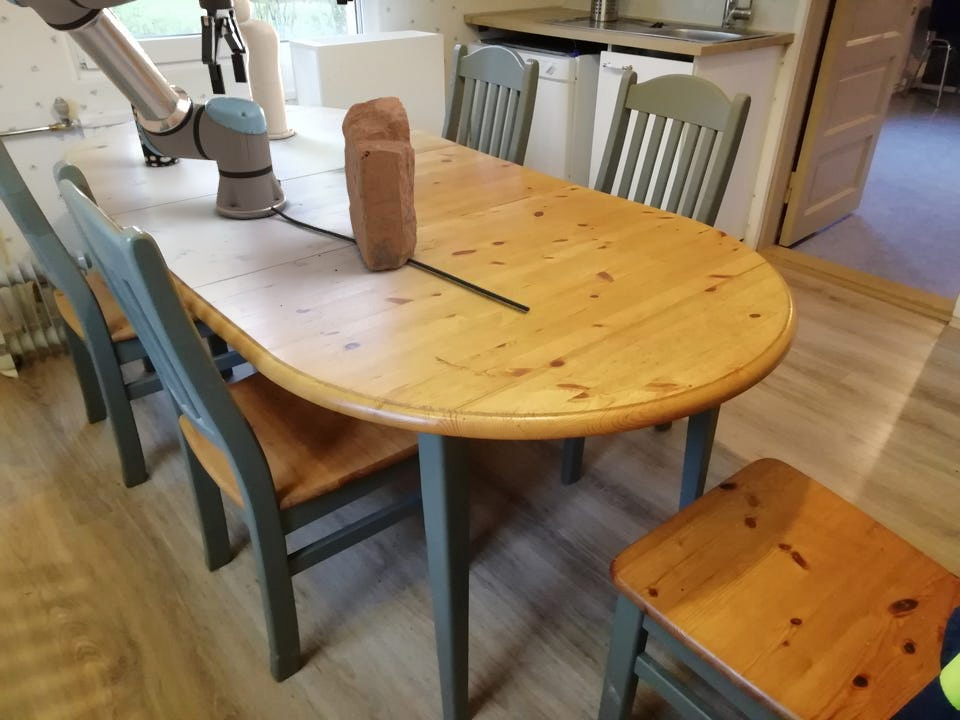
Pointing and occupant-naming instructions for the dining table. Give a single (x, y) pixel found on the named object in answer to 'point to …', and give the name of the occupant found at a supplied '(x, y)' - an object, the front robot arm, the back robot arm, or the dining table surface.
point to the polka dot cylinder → (150, 156)
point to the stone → (381, 181)
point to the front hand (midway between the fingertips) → (230, 88)
